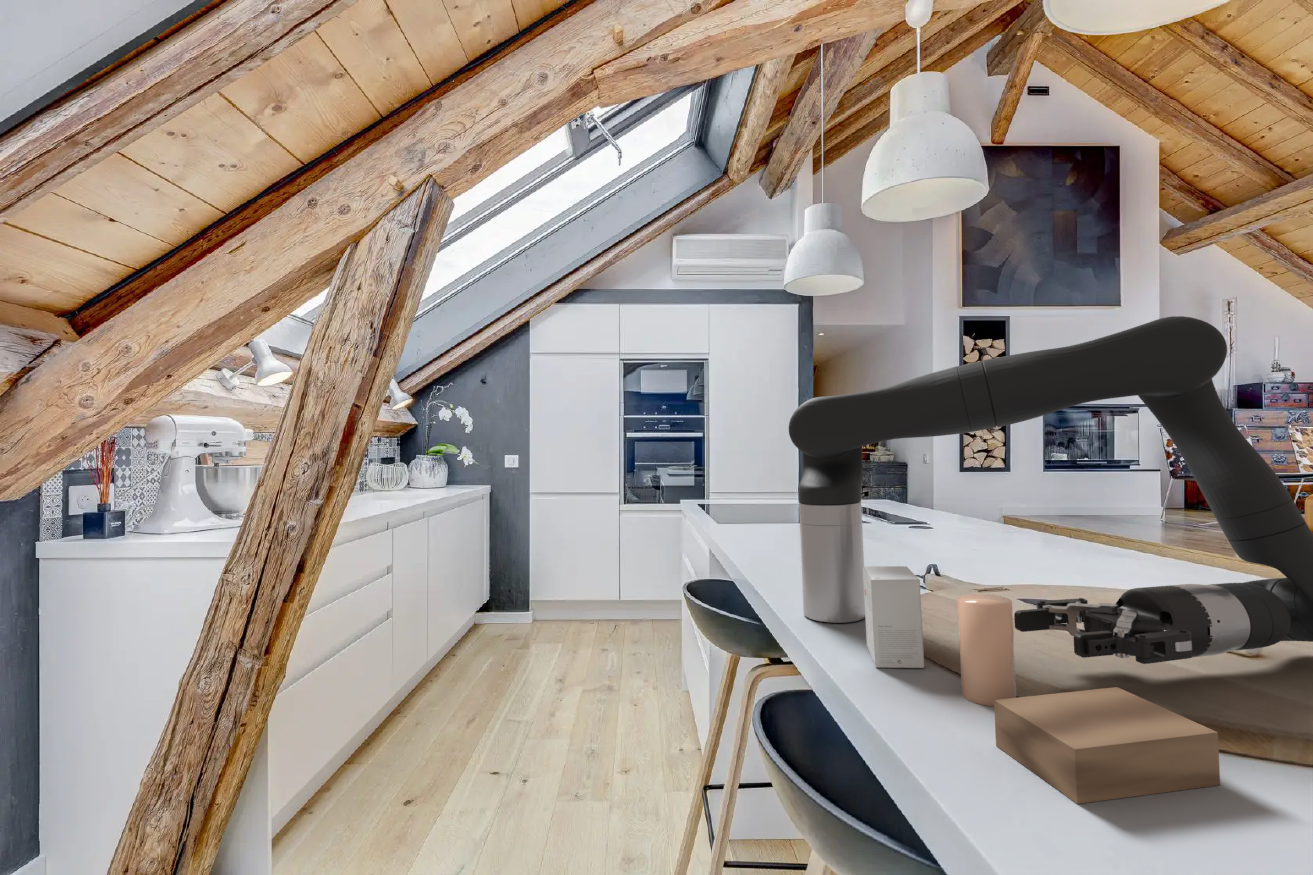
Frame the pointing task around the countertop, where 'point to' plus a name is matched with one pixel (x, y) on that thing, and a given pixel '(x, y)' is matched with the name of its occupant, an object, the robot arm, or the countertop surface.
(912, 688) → the countertop surface
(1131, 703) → the walnut plinth
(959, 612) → the terracotta canister
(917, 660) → the small box
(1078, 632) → the robot arm
